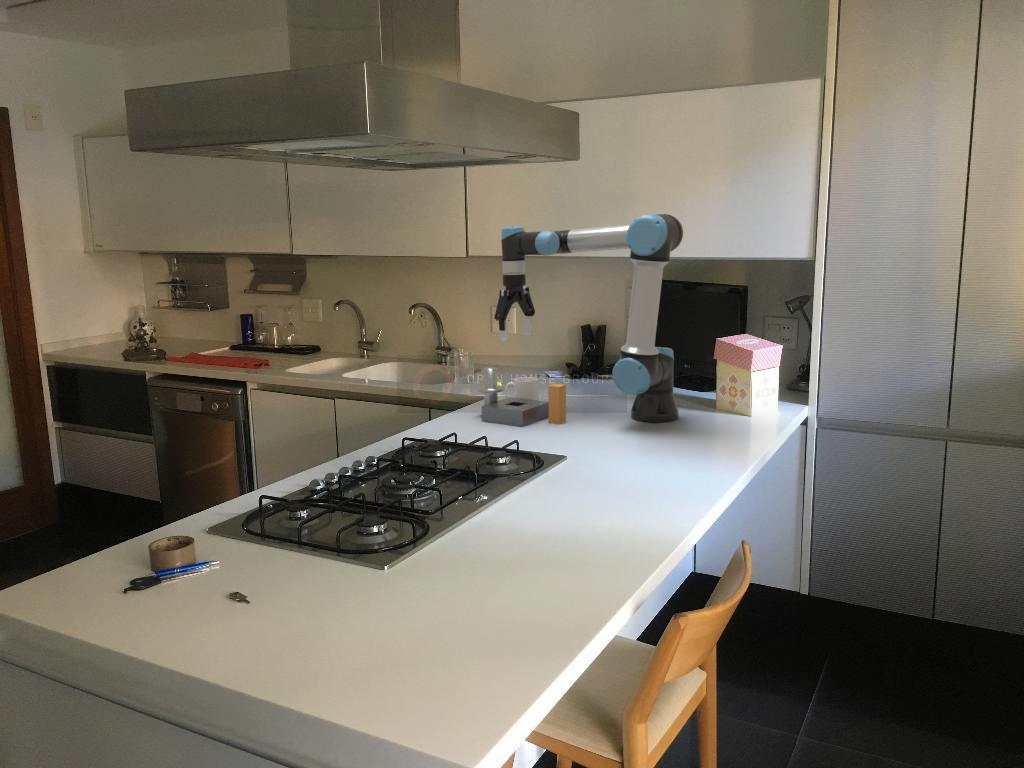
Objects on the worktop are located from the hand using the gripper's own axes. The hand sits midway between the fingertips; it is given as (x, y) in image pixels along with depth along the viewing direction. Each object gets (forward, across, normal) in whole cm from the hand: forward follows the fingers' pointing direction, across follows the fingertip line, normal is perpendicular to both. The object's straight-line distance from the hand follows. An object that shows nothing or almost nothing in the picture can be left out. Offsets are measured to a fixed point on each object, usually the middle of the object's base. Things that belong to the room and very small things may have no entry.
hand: (516, 338), depth 278 cm
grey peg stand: (+25, +9, +2) cm, 27 cm away
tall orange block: (+26, +6, +20) cm, 33 cm away
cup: (+25, -6, -3) cm, 26 cm away
